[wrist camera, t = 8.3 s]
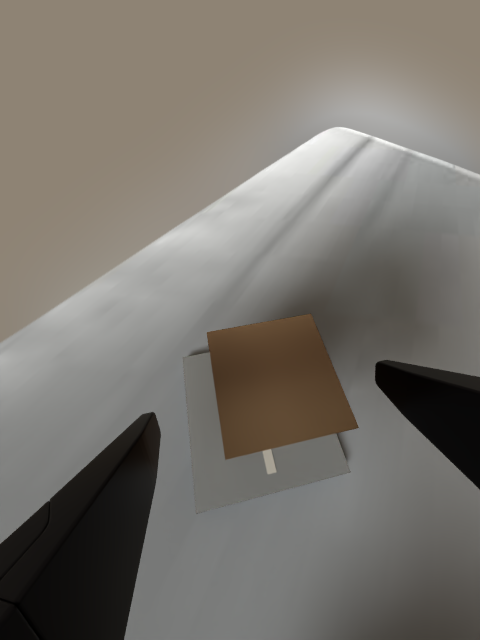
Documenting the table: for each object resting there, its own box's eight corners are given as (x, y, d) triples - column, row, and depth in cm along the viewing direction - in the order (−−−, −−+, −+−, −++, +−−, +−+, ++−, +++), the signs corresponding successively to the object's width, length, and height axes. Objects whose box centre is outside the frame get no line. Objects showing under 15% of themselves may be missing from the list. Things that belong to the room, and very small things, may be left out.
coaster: (344, 470, 15) (351, 472, 14) (198, 509, 14) (195, 514, 13) (296, 339, 20) (299, 334, 19) (185, 361, 19) (182, 357, 18)
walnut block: (296, 435, 15) (358, 427, 7) (232, 450, 15) (225, 460, 7) (277, 372, 17) (310, 313, 9) (221, 383, 17) (206, 332, 9)
